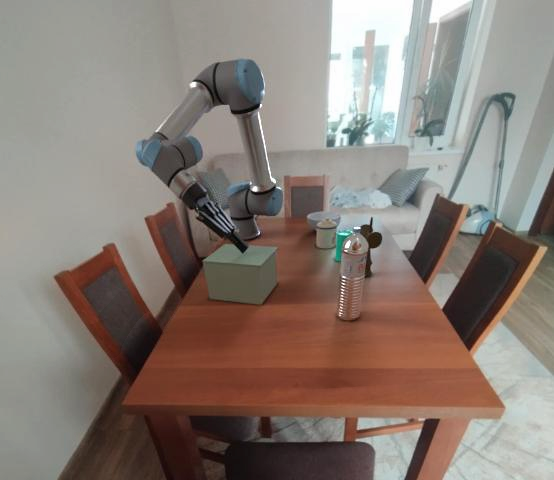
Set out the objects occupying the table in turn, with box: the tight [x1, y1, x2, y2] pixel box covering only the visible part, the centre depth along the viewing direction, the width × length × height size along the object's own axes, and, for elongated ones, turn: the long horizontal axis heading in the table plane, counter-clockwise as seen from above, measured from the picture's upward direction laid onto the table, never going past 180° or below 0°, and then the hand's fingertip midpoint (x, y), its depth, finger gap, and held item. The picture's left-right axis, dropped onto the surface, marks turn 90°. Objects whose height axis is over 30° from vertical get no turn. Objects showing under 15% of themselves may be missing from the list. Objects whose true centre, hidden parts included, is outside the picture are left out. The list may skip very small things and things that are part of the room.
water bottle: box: [336, 226, 369, 322], centre depth 90 cm, size 7×7×25 cm
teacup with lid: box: [315, 218, 338, 250], centre depth 145 cm, size 12×9×12 cm
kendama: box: [359, 216, 383, 278], centre depth 114 cm, size 6×10×20 cm, turn 10°
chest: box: [202, 251, 278, 306], centre depth 111 cm, size 19×17×12 cm
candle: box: [334, 229, 353, 263], centre depth 130 cm, size 6×6×12 cm
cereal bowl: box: [306, 210, 342, 232], centre depth 164 cm, size 17×17×7 cm
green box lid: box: [202, 243, 279, 268], centre depth 106 cm, size 20×17×1 cm
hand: (245, 250), depth 105 cm, fingers closed
